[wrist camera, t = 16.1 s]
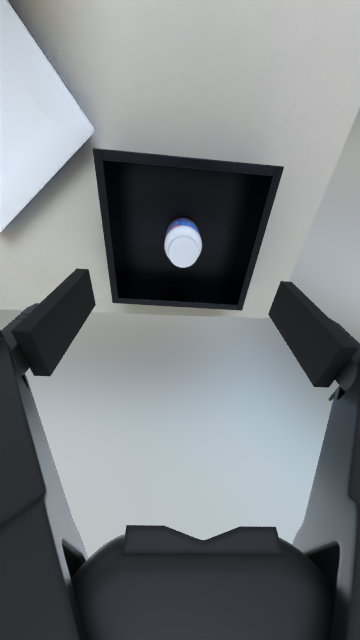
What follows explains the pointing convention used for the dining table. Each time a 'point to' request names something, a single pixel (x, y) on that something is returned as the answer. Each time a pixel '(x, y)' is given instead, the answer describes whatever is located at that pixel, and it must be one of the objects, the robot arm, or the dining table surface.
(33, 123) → the plate
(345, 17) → the dining table surface
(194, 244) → the pill bottle
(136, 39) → the dining table surface
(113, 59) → the dining table surface
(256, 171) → the basin
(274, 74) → the dining table surface
